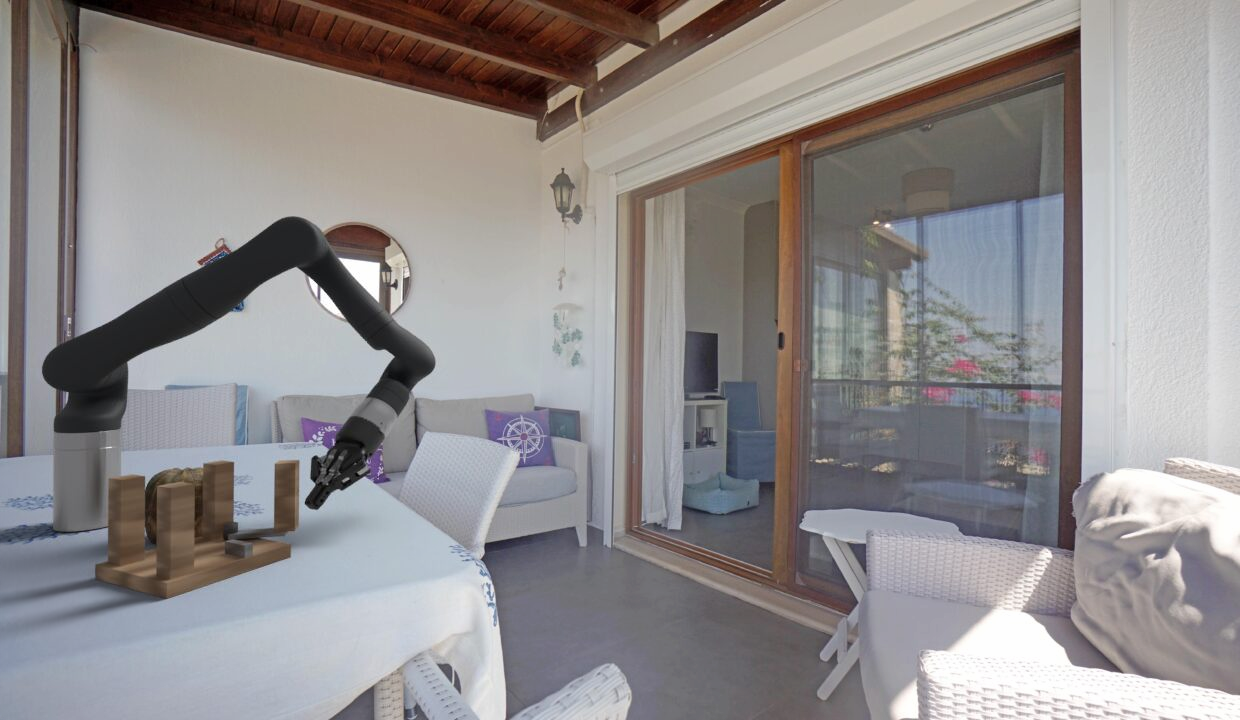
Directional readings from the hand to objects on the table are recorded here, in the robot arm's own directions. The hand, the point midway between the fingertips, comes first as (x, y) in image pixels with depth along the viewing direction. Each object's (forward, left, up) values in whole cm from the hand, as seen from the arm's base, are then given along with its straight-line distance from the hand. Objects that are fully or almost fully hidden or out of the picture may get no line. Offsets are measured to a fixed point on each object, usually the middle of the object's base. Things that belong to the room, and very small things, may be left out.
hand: (310, 506), depth 104 cm
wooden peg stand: (-4, -16, -6) cm, 18 cm away
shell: (-21, -8, -6) cm, 23 cm away
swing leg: (-3, -7, -3) cm, 8 cm away
